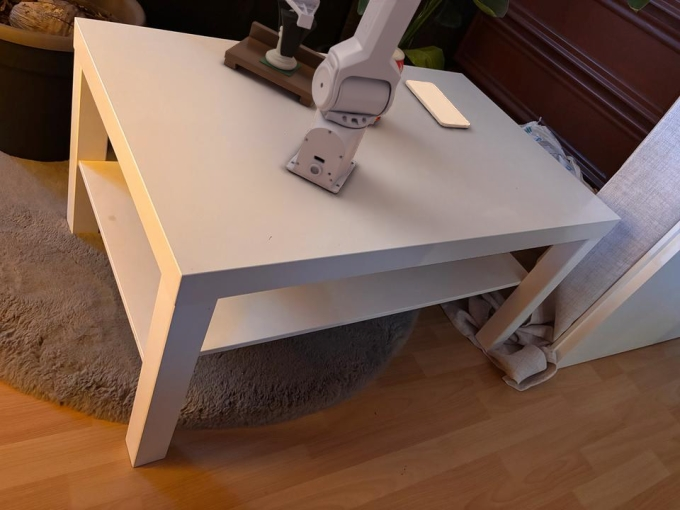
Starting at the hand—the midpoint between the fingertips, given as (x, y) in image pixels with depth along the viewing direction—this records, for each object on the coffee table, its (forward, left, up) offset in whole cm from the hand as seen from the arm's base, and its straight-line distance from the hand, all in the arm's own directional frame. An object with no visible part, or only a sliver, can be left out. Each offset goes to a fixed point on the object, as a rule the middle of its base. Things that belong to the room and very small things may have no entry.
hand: (284, 49), depth 92 cm
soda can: (+2, -15, -5) cm, 16 cm away
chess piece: (0, 0, -2) cm, 3 cm away
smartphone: (+19, -26, -5) cm, 33 cm away
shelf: (0, 0, -5) cm, 5 cm away
